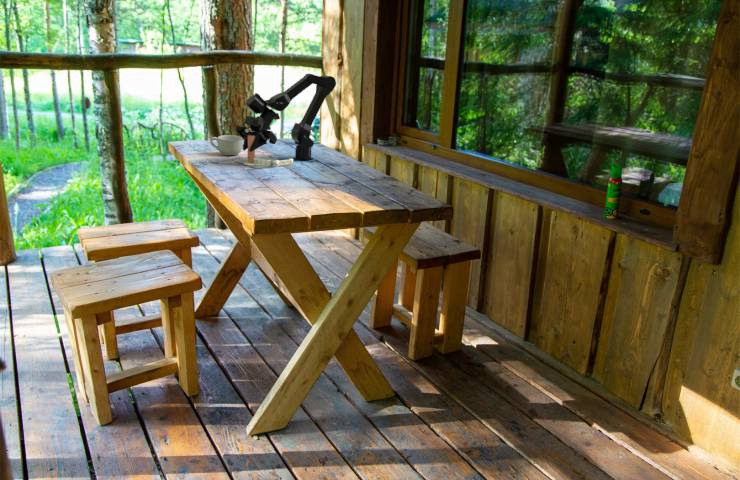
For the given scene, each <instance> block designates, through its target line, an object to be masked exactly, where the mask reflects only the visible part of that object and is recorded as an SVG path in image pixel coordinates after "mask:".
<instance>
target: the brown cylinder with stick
mask: <svg viewBox="0 0 740 480" xmlns="http://www.w3.org/2000/svg"><path fill="white" fill-rule="evenodd" d="M254 140H255V135H248V148H247V160H248V162H249V163H261V164H268V165H275V161H271V160H263V159H259V158H256V149H255V150H254V151H252V152H250V151H249V149H250V147H251V145H252V143H253V142H254ZM255 160H256V161H255ZM260 161H261V162H260ZM263 161H264V162H263ZM268 162H271V163H268Z"/></svg>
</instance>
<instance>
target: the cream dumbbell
mask: <svg viewBox="0 0 740 480" xmlns="http://www.w3.org/2000/svg"><path fill="white" fill-rule="evenodd" d="M279 160H280V159H277V160H274V161H275V165H276V167H275V168H279V165H282V164H290V165H289V166H293V165H294V158H288V159H282V160H281V161H279ZM282 162H283V163H282Z"/></svg>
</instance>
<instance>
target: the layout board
mask: <svg viewBox="0 0 740 480" xmlns="http://www.w3.org/2000/svg"><path fill="white" fill-rule="evenodd" d="M258 159H263V160H271V161H274V160H279V161H282V160H281V159H276V158H272V157H262V158H261V157H260V158H258ZM255 161H256V160H255ZM237 162H238V163H237ZM260 162H261V161H260ZM263 162H264V161H263ZM234 163H237V164H240V165H244V166H247V167H249V166H250V168H253V169H255V168H256V170H261V169H270V168H271V169H272V168H277V167H276V165H268V164H261V163H249V162H248V159H241V160H240V159H239V160H234ZM268 163H271V162H268ZM282 163H283V162H282ZM286 166H287V167H288V166H291V165H290V164H282V165H279V167H286ZM279 167H278V168H279Z"/></svg>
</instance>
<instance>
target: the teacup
mask: <svg viewBox="0 0 740 480" xmlns="http://www.w3.org/2000/svg"><path fill="white" fill-rule="evenodd" d="M213 140H215V141H216V143H217V145H216V144H215V143H214V142H213ZM209 143H210V145H211V146H212V147H213V148H216V150H217V151H219V152H220V153H221V155H223V156H226V155H236V156H238V155H239V154H240V153H241V152H242V150H243V138H242V137H241V136H240V135H233V134H224V135H223V134H222V135H219V136H217V137H216V136H213V137H211V138H210V140H209Z"/></svg>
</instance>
